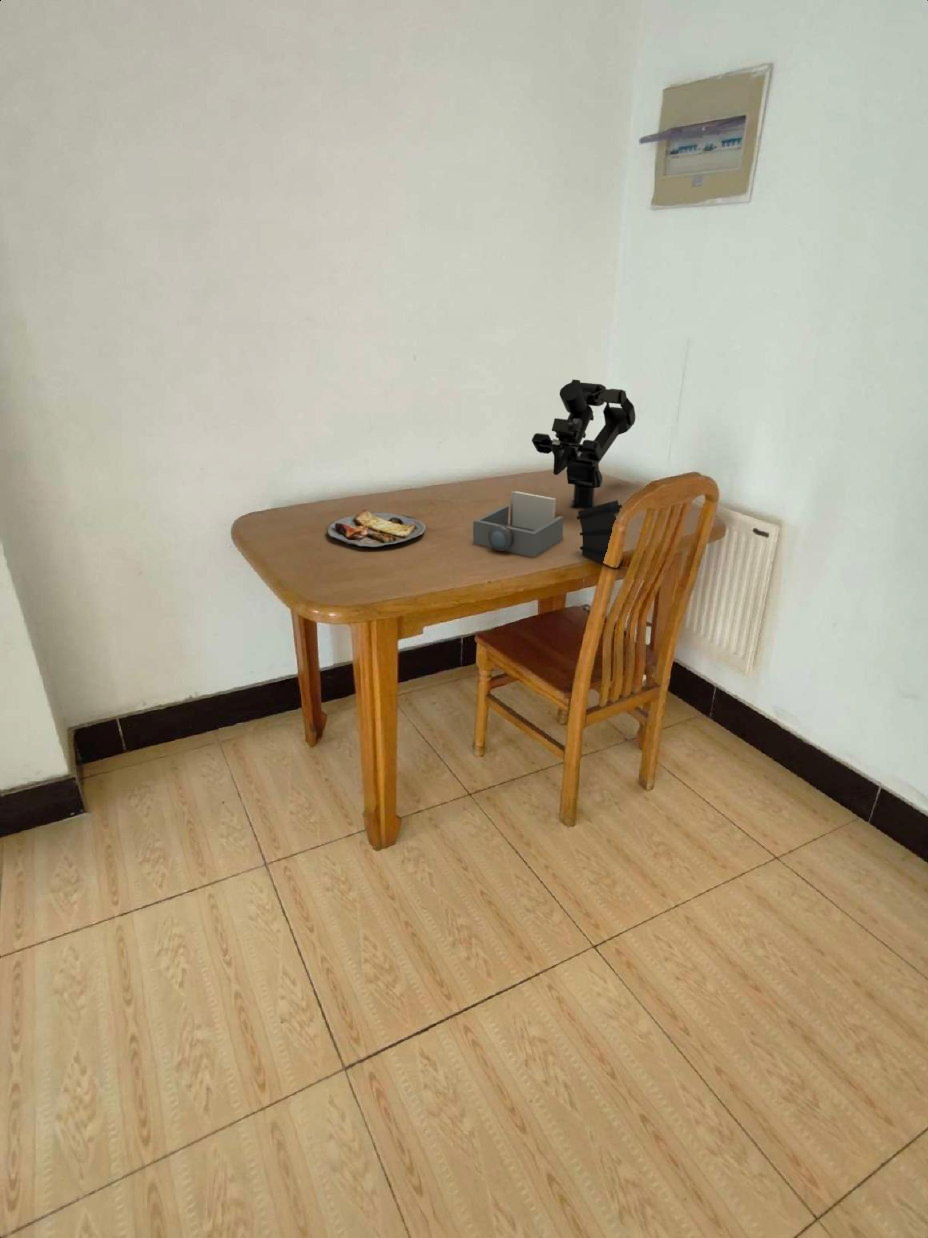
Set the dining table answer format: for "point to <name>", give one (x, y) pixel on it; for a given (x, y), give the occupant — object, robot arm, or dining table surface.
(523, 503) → the side door
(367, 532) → the food plate
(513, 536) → the grey open box
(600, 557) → the black ribbed curved block
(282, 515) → the dining table surface
